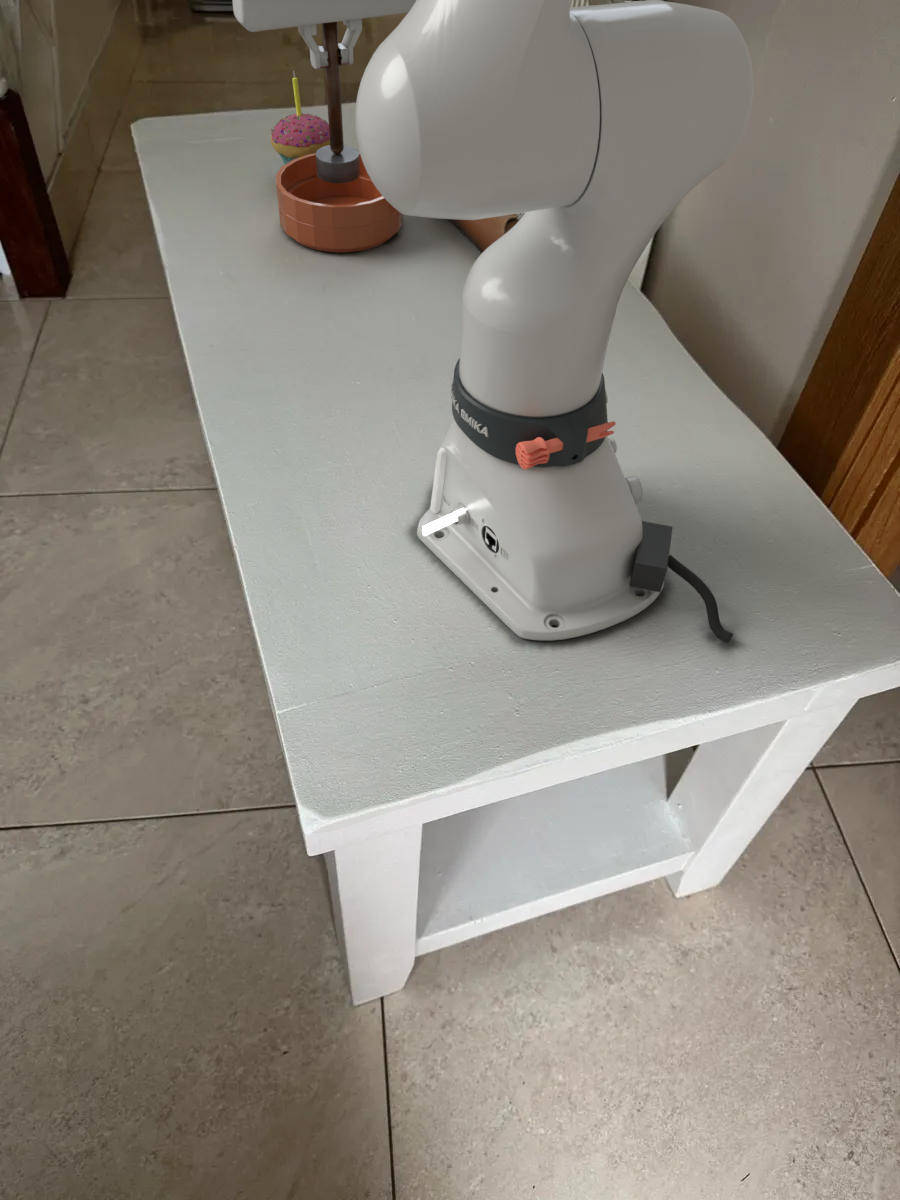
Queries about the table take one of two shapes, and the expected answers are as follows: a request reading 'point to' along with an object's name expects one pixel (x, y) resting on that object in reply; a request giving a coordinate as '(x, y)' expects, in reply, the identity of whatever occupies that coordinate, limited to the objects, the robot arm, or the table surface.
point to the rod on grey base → (335, 121)
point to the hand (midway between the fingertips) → (332, 65)
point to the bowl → (333, 209)
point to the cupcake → (299, 132)
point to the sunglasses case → (486, 229)
